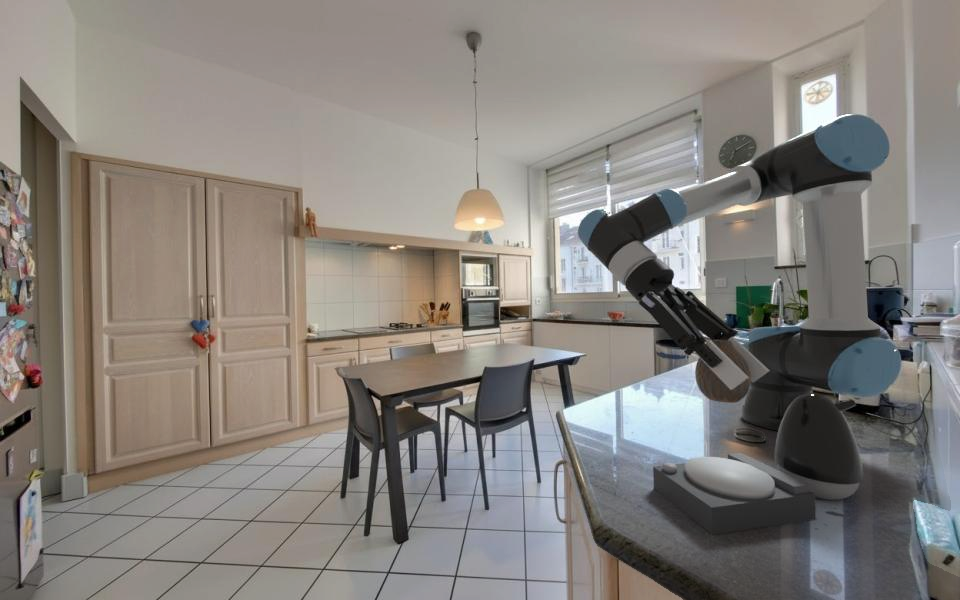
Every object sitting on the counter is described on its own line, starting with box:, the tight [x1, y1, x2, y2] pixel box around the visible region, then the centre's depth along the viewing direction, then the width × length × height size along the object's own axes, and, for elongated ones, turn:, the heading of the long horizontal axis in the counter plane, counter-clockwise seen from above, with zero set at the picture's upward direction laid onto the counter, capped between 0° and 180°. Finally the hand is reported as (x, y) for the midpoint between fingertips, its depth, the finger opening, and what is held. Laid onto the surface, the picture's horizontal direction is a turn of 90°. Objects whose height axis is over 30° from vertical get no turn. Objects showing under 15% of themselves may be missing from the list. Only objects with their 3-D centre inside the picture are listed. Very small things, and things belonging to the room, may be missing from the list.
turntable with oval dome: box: [652, 452, 817, 536], centre depth 55 cm, size 16×12×4 cm
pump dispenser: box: [773, 392, 864, 501], centre depth 58 cm, size 10×10×15 cm
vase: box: [694, 340, 751, 404], centre depth 55 cm, size 7×7×9 cm
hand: (750, 379), depth 52 cm, fingers closed on vase, 7 cm apart
